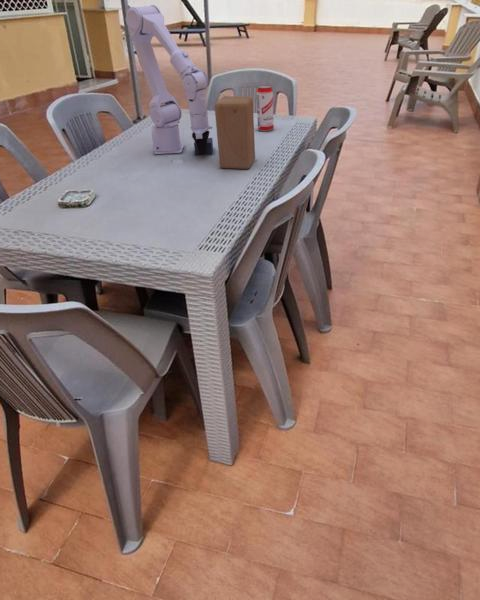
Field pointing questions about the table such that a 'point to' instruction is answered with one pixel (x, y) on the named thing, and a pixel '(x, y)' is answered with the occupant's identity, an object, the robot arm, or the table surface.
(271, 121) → the beer can
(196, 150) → the navy block
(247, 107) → the wooden block
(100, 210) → the table surface
